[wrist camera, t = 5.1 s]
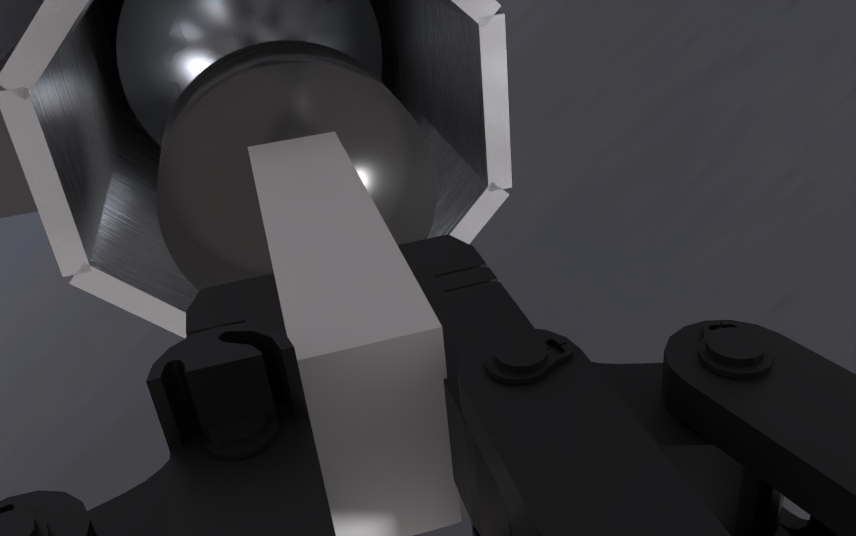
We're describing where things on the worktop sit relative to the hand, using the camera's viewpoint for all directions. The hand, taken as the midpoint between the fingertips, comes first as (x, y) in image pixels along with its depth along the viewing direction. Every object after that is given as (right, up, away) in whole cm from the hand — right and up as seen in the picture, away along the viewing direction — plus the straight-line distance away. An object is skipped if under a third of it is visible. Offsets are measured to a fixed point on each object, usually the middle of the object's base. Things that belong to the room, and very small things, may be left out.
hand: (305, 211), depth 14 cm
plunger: (-3, +6, +11) cm, 13 cm away
